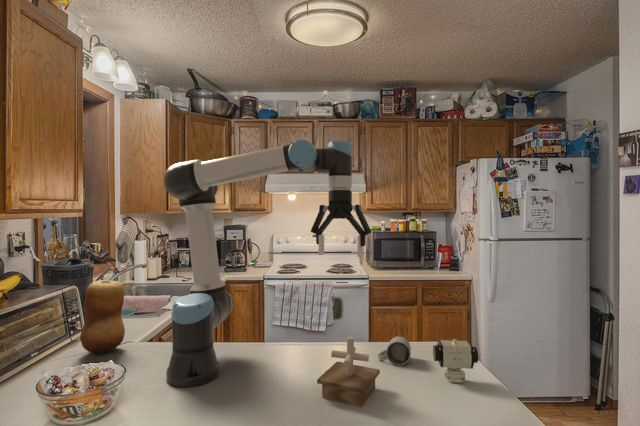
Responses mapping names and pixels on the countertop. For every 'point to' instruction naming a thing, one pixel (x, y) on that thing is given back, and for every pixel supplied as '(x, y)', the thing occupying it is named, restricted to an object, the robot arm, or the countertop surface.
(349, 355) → the pipe connector
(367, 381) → the walnut stand
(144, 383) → the countertop surface
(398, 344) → the ceramic mug
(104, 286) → the butternut squash
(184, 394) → the countertop surface
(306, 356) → the countertop surface
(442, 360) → the pneumatic valve
